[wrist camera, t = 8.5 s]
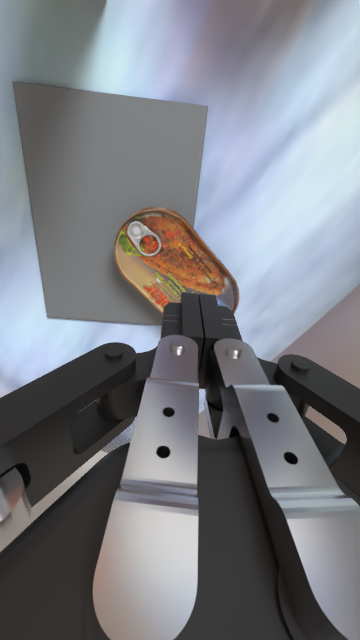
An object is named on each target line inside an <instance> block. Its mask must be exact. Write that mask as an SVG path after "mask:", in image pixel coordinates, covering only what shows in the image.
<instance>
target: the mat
mask: <svg viewBox="0 0 360 640" xmlns="http://www.w3.org/2000/svg"><path fill="white" fill-rule="evenodd" d="M13 88H14V94H15V101H16V108H17V115H18V121H19V128H20V135H21V142H22V149H23V155H24V162H25V169H26V176H27V182H28V189H29V196H30V203H31V210H32V216H33V223H34V230H35V237H36V243H37V250H38V257H39V264H40V270H41V277H42V284H43V291H44V298H45V304H46V311H47V317H56V318H70V319H84V320H97V321H111V322H125V323H138V324H152V325H162V320H163V314H162V313H160V312H159V311H158V310H157V309H156V308H155V307H154V306H153V305H152V304H151V303H150V302H149V301H148V300H147V299H146V298H145V297H144V296H143V295H141V294H140V293H139V292H138V291H137V290H136V289H135V288H134V287H133V286H132V285H131V284H130V283H129V282H128V281H127V280H126V279H125V278H124V277H123V276H122V275H121V273H120V272H119V270H118V268H117V266H116V263H115V259H114V241H115V237H116V235H117V233H118V230H119V229H120V227H121V226H122V225H123V223H124V222H125V221H126V220H127V219H128V218H129V217H130V216H132V215H133V214H134V213H136V212H138V211H140V210H142V209H145V208H149V207H164V208H168V209H171V210H173V211H175V212H177V213H179V214H180V215H181V216H183V217H184V218H185V219H186V220H187V222H188V223H189V224H190V225H191V226H192V228H194V220H195V211H196V203H197V195H198V186H199V178H200V170H201V161H202V153H203V145H204V136H205V128H206V120H207V111H208V106H204V105H196V104H188V103H180V102H172V101H164V100H156V99H148V98H140V97H132V96H124V95H116V94H108V93H100V92H92V91H84V90H76V89H69V88H61V87H53V86H45V85H37V84H29V83H21V82H13Z"/></svg>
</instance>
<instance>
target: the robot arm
mask: <svg viewBox="0 0 360 640" xmlns="http://www.w3.org/2000/svg"><path fill="white" fill-rule="evenodd" d="M199 389H205V392H206V395H205V400H204V408H205V413H206V419H207V423H208V428H209V433H210V438H207V437H204V436H200V435H198V414H199ZM95 400H96V401H95ZM94 401H95V402H94ZM92 402H93V403H92ZM91 403H92V404H91ZM89 404H90V405H89ZM88 405H89V406H88ZM86 406H87V407H86ZM309 406H311V407H312V408H314V409H315V410H317V411H318V412H319V413H321V414H322V415H324V416H325V417H326V418H328V419H329V420H331V421H332V422H334V423H335V424H336V425H338V426H339V427H340V428H341V429H343V431H344V432H345V434H346V437H347V442H346V444H343V443H341V442H339V441H338V440H337V439H335V438H334V437H333V436H331V435H330V434H328V433H327V432H326V431H325V430H323V429H322V428H320V427H319V426H318V425H316V424H315V423H314V422H312V421H311V420H309V419H308V418H307V417H305V414H306V412H307V410H308V407H309ZM85 407H86V408H85ZM82 409H83V410H82ZM79 411H80V412H79ZM136 416H137V419H136V423H135V427H134V431H133V435H132V439H131V442H130V443H127V444H125V445H122V446H120V447H118V448H117V449H115V450H113V451H111V452H110V453H109V454H107V455H106V456H104V457H103V458H102V459H101V460H100V461H99V462H98V463H96V464H95V465H94V466H93V467H92V468H91V469H90V470H89V471H88V472H87V473H86V474H85V475H84V476H82V477H81V478H80V479H79V480H78V481H77V482H76V483H75V484H74V485H73V486H71V487H70V488H69V489H68V490H67V491H66V492H65V493H64V494H63V495H62V496H61V497H60V498H58V500H56V501H55V502H54V503H53V504H52V505H51V506H50V507H49V508H48V509H46V510H45V511H44V512H43V513H42V514H41V515H40V516H39V517H38V518H37V519H36V520H35V521H33V523H31V524H30V525H29V526H28V527H27V525H28V523H29V520H30V516H31V508H32V507H33V506H34V505H35V504H36V503H38V502H39V501H40V500H41V499H42V498H43V497H45V496H46V495H47V494H48V493H49V492H51V491H52V490H53V489H54V488H56V486H58V485H59V484H60V483H61V482H63V481H64V480H65V479H66V478H67V477H69V476H70V475H71V474H72V473H73V472H75V471H76V470H77V469H78V468H79V467H81V466H82V465H83V464H84V463H85V462H86V461H88V460H89V459H90V458H91V457H93V456H94V455H95V454H96V453H97V452H99V451H100V450H101V449H102V448H103V447H105V446H106V445H107V444H108V443H109V442H111V441H112V440H113V439H114V438H115V437H117V436H118V435H119V434H120V433H121V432H123V431H124V430H125V429H126V428H127V427H129V426H130V425H131V424H132V423H133V421H134V419H135V417H136ZM26 527H27V528H26ZM0 640H360V389H359V388H357V387H356V386H354V385H352V384H350V383H349V382H347V381H345V380H344V379H342V378H340V377H339V376H337V375H335V374H333V373H331V372H330V371H328V370H327V369H325V368H323V367H321V366H320V365H318V364H316V363H315V362H313V361H311V360H309V359H307V358H305V357H302V356H298V355H284V356H282V357H281V358H280V359H279V361H278V364H276V363H272V362H269V361H265V360H262V359H259V358H257V357H256V355H255V353H254V351H253V349H252V348H251V347H250V346H249V345H248V344H247V343H245V342H243V341H242V338H241V335H240V332H239V329H238V326H237V323H236V320H235V317H234V314H233V312H232V311H231V310H230V309H229V308H228V307H227V306H218V303H217V299H216V295H213V294H200V293H199V294H198V293H186V292H181V299H180V303H174V302H169V303H168V304H167V305H166V306H165V307H164V309H163V320H162V331H161V340H160V341H159V342H158V346H157V347H156V348H154V349H153V350H150V351H147V352H143V353H137V354H136V352H135V350H134V349H133V348H132V347H131V346H129V345H127V344H124V343H117V342H115V343H107V344H104V345H101V346H99V347H97V348H95V349H93V350H91V351H89V352H88V353H86V354H84V355H82V356H80V357H78V358H76V359H74V360H72V361H70V362H68V363H67V364H65V365H63V366H61V367H59V368H57V369H55V370H53V371H51V372H49V373H47V374H45V375H44V376H42V377H40V378H38V379H36V380H34V381H32V382H30V383H28V384H26V385H24V386H22V387H21V388H19V389H17V390H15V391H13V392H11V393H9V394H7V395H5V396H3V397H1V398H0Z"/></svg>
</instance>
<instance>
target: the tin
mask: <svg viewBox="0 0 360 640" xmlns="http://www.w3.org/2000/svg"><path fill="white" fill-rule="evenodd" d="M114 259H115V263H116V266H117V268H118V270H119V272H120V273H121V275H122V276H123V277H124V278H125V279H126V280H127V281H128V282H129V283H130V284H131V285H132V286H133V287H134V288H135V289H136V290H137V291H138V292H139V293H140V294H141V295H143V296H144V297H145V298H146V299H147V300H148V301H149V302H150V303H151V304H152V305H153V306H154V307H155V308H156V309H157V310H158V311H159V312H160V313H162V314H163V309H164V307H165V306H166V305H167V304H168V303H169V302H174V303H180V299H181V292H186V293H198V294H199V293H200V294H213V295H216V299H217V303H218V306H227V307H228V308H229V309H230V310H231V311H232V312H233V314H234V313H235V311H236V309H237V306H238V303H239V289H238V286H237V283H236V281H235V279H234V278H233V277H232V275H231V274H230V272H229V271H228V270H227V269H226V267H225V266H224V265H223V264H222V263H221V262H220V260H219V259H218V258H217V257H216V256H215V254H214V253H213V252H212V251H211V250H210V248H209V247H208V246H207V245H206V244H205V242H204V241H203V240H202V239H201V237H200V236H199V235H198V234H197V233H196V231H195V230H194V229H193V228H192V226H191V225H190V224H189V223H188V222H187V220H186V219H185V218H184V217H183V216H181V215H180V214H179V213H177V212H175V211H173V210H171V209H168V208H164V207H149V208H145V209H142V210H140V211H138V212H136V213H134V214H133V215H132V216H130V217H129V218H128V219H127V220H126V221H125V222H124V223H123V225H122V226H121V227H120V229H119V230H118V233H117V235H116V237H115V241H114Z"/></svg>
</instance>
